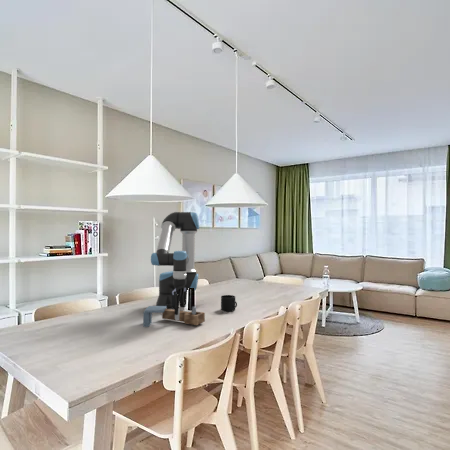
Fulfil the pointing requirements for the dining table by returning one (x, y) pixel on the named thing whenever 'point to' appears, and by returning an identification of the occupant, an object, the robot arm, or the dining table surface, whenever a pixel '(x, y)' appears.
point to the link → (185, 316)
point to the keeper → (148, 314)
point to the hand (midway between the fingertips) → (179, 319)
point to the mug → (228, 303)
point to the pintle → (193, 310)
